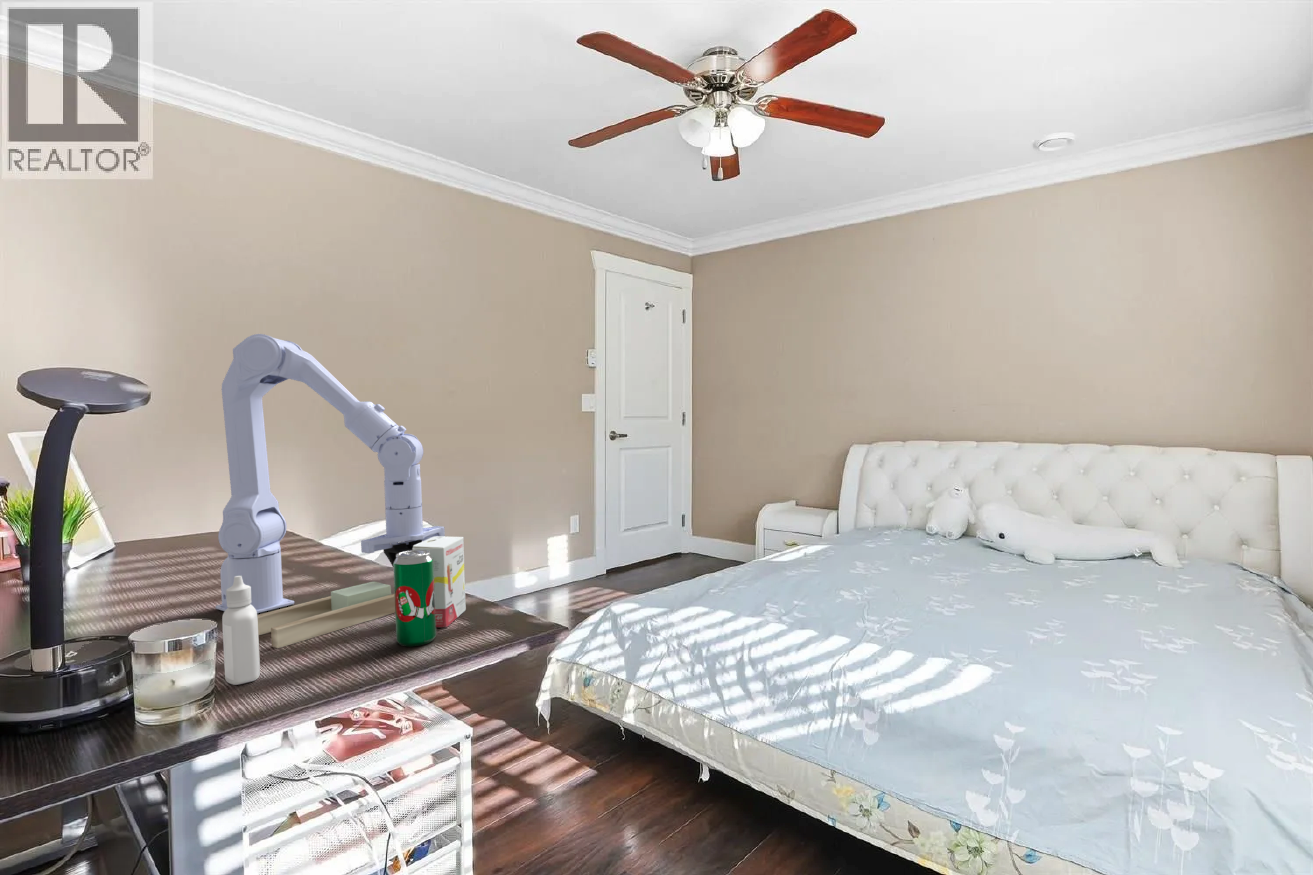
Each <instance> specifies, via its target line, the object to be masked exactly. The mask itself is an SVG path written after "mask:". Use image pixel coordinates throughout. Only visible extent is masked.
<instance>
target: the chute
mask: <svg viewBox="0 0 1313 875" xmlns="http://www.w3.org/2000/svg"><path fill="white" fill-rule="evenodd" d="M392 614H395V594H394V593H391V595H387V596H384V597H380V598H377V599H373V600H369V601H366V602H362V603H359V604H355V605H352V606H348V607H344V608H341V609H337V610H334V611H332V608H331V595H329V596H326V597H322V598H318V599H313V600H309V601H306V602H302V603H298V604H295V605H294V604H293V605H289V606H288V607H287V606H285V607H281V608H280V609H279V608H277V609H274V610H270V611H268V612H267V611H266V612H262V613H260V614H259V613H258V614H257V618H258V636H261V635H265V634H269V633H270V634H271V635H270V638H271V647H273V648H275V649H280V648H284V647H287V646H290V645H293V644H296V643H302V642H304V641H307V640H310V639H313V638H317V637H320V636H323V635H324V636H325V635H326V634H330V633H332V632H336V631H339V630H343V629H346V628H349V627H353V626H356V625H358V624H362V623H366V622H369V621H371V620H377V619H378V618H381V617H385V616H388V615H392Z"/></svg>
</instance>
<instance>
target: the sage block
mask: <svg viewBox="0 0 1313 875" xmlns="http://www.w3.org/2000/svg"><path fill="white" fill-rule="evenodd" d="M391 594H392V586H391V584H385V583H382V582H378V581H370V582H366V583H362V584H357V585H353V586H349V587H345V588H344V587H343V588H341V589H336V590H331V591H330V596H331V608H332V611H334V610H337V609H341V608H344V607H348V606H352V605H355V604H359V603H362V602H366V601H369V600H373V599H377V598H380V597H384V596H387V595H391Z"/></svg>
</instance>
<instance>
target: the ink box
mask: <svg viewBox="0 0 1313 875" xmlns="http://www.w3.org/2000/svg"><path fill="white" fill-rule="evenodd" d="M464 538H465V537H464V536H435V537H432V538H429V539H427V540H425V541H422V542H420V543H418V544H416V545H414V546H413V548H412V549H413V550H427V551H430V555H431V557H432V558H433V560H434V587H435V613H436V628H448V627H449V626H450V625H451V624H452V623H453V622H455V621H456V620H457V618H459V616H461V615H462V614H463V613H465V611H466V610H467V606H466V581H465V580H466V578H465V552H464V551H465V549H464V546H465V544H464V543H465V542H464Z"/></svg>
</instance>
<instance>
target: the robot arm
mask: <svg viewBox="0 0 1313 875" xmlns="http://www.w3.org/2000/svg"><path fill="white" fill-rule="evenodd" d="M232 356H233V358H232V361H231V362H230V363H231V364H230V365H229V367H228V369H227V372H226V374H225V376H224V378H223V380H222V383H221V395H222V396H221V398H222V408H223V418H224V421H223V422H224V428H225V429H224V430H225V440H226V441H225V442H226V451H227V460H228V461H227V463H228V470H229V471H228V473H229V484H230V485H229V486H230V494H231V496H230V498H229V500H228V502H227V503H226V505H225V506H224V508H223V510H222V523H221V526H220V528H219V531H218V536H217V537H218V542H219V545H220V547H221V549H222V550H223V551H224V552H226V553H227V557H226V558H225V559H224V561H223V562H222V564H221V567H220V570H219V571H220V591H221V592H220V593H221V604H216V605H215V609H216V610H220V611H223V612H225V610H226V609H227V608H228V607H227V598H226V590H227V589H228V588H230V587H232V585H233V582H234V577H235V576H242V580H243V583H244V584H245V585H248V586H250V587H251V603H250V604H251V605H252V606H253V607H254V608H255V609H256V611H257V614H259V613H260V614H261V613H265V612H267V611H268V612H269V611H273V610H277V609H279V608H280V609H281V608H285V607H287V606H288V607H289V606H293V605H294V604H295V601H294V600H292V599H289V598H284V594H283V592H284V591H283V589H284V588H283V574H282V573H283V572H282V571H283V570H282V568H283V567H282V551H281V549H282V548H281V543H280V542H281V541H282V539H283V538H284V537H285V535H286V533H287V530H288V529H287V528H288V526H287V521H286V519H285V516H284V515H283V514H282V512H281V511H280V504H279V503H280V502H279V501H278V499H277V498H276V497H275V495H274V494H273V493H272V491H271V482H270V471H269V462H268V461H269V459H268V449H267V448H268V447H267V440H266V439H267V438H266V436H267V435H266V428H265V418H264V417H265V416H264V405H263V398H264V396H265V395H266V394H267V393H269V392H270V391H271V390H272V389H273V388H274V387H276V385H278V384H280V383H282V382H283V383H284V382H285V381H288V380H293V381H297V382H300V383H304V384H305V385H306V386H307V387H309V388H310V389H312V390H313V392H315V393H316V394H318V395H319V396H320V397H321V398H323V400H325V401H326V402H327V403H329V405H331V406H332V407H334V408H335V409H336V410H337V411H339V412H340V413H341V414H342V415H343V420H344V421H343V422H344V427H345V428H346V429H347V430H348V431H349V432H350V433H352V434H353V435H354V436H355V437H357V438H358V439H359V440H360V441H361V443H363V444H364V445H366V447H367V448H369V449H370V450H371V451H372V452H374V453H377V455H376V456H377V458H378V462H379V463H380V465H381V466H382V467H383V468H384V469H383V470H384V471H383V472H384V479H383V480H384V481H383V486H384V506H385V510H384V513H385V533H384V534H381V535H377V536H374V537H370V538H367V539H362V540H360V548H361V550H360V551H361V553H363V554H364V553H365V554H373V553H375V552H378V551H383V554H384V555H385V556H386V558H387V559H388V561H389V562H390V564H391V566H392V567H393V563H394V561H395V559H396V558H397V557H396V554H398V553H401V552H405V551H411V550H413V549H412V548H413V546H414V545H416V544H418V543H420V542H422V541H425V540H427V539H429V538H432V537H435V536H445V534H446V532H445V526H439V525H436V526H435V525H434V526H427V527H424V526H423V524H424V523H423V496H422V491H423V490H422V477H421V464H420V462H421V461H422V459H423V456H424V447H423V444H422V443H421V441H420V440H419V438H418V437H417V436H416V435H414V434H412V433H405V432H406V431H407V428H406V427H405V426H404V425H398V423H396V422H395V421H394V420H393V419H391V418H390V417H389V415H387V414H386V413H385V412H384V411H385V410H386V408H385V407H384V406H383V405H382V404H379V403H376V404H374V403H373V402H372V401H360V400H359V399H358V398H357V397H356V396H355V395H353V394H352V392H350V391H349V390H348V389H347V388H346V387H345V386H344V385H343V384H342V383H341V382H340V381H339V380H338V379H337V378H336V377H335V376H334V375H333V374H332V373H331V372H330V371H329V370H328V369H327V368H326V367H324V365H323V364H322V363H321V362H320V361H318V360H317V359H316V358H315V356H313V355H312V354H311V353H309V352H307V351H305V350H303V349H302V348H301V346H300V345H299V344H297V343H296V342H294V341H291V340H285V339H284V340H283V339H280V338H276V337H273V336H271V335H267V334H265V333H255V334H252V335H250V336H247V337H246V338H244V339H243V340H242V341H241V342H239V343H238V344H237V345H236V346H235V347H234V348H232Z"/></svg>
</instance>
